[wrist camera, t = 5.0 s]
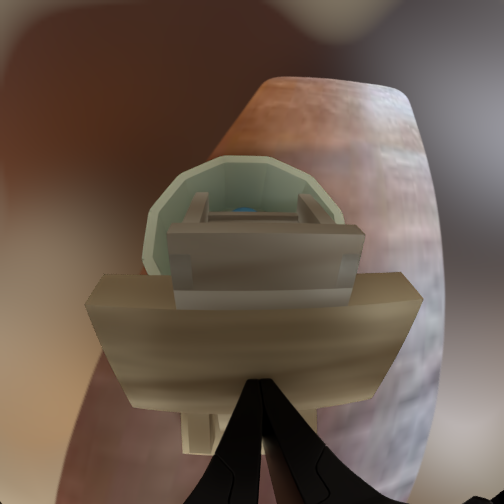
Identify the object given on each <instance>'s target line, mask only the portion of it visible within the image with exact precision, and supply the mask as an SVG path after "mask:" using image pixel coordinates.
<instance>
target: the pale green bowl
mask: <svg viewBox="0 0 504 504" xmlns="http://www.w3.org/2000/svg"><path fill="white" fill-rule="evenodd" d="M196 192H209V212H231V211H233V210H235V209H237V208H241V207H247V208H251V209H254V210H256V211H257V212H293V213H296V212H297V201H298V194H311V196H312V197H313V198H314V199H315V200H316V201H317V202H318V203H319V204H320V206H321V207H322V208H323V209H324V210H325V211H326V212H327V213H328V215H329V216H330V217H331V218H332V219H333V220H334V222H335V223H336V224H345V222H344V218H343V213H341V212H342V211H341V210H340V209H339V207H338V206H337V205H336V204H335V202H334V201H333V200H332V199H331V198H330V196H329V195H328V194H327V193H326V192H325V190H324V189H323V188H322V187H321V186H320V185H319V183H318V182H317V181H316V180H315V179H314V178H313V177H311V175H309V174H307V173H305V172H303V171H300V170H298V169H296V168H294V167H292V166H290V165H288V164H285V163H283V162H281V161H279V160H276V159H274V158H272V157H270V158H269V156H223V157H222V156H220V157H218V158H215V159H213V160H211V161H208V162H206V163H204V164H201V165H199V166H197V167H194V168H192V169H190V170H187V171H185V172H183V173H181V174H180V175H178V176H177V177H176V179H175V180H174V181H173V182H172V183H171V184H170V186H169V187H168V188H167V189H166V190H165V192H164V193H163V194H162V195H161V196H160V198H159V199H158V200H157V201H156V202H155V204H154V205H153V206H152V208H151V209H150V212H149V214H148V219H147V226H146V232H145V239H144V245H143V253H142V262H143V264H144V266H145V269H146V271H147V273H148V275H171V269H170V261H169V253H168V245H167V235H166V233H167V231H168V229H169V227H170V225H171V223H182V221H183V219H184V217H185V215H186V212H187V210H188V208H189V206H190V204H191V202H192V199H193V197H194V195H195V193H196Z"/></svg>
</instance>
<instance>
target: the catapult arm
mask: <svg viewBox="0 0 504 504" xmlns="http://www.w3.org/2000/svg"><path fill="white" fill-rule="evenodd" d="M166 235H167V245H168V253H169V261H170V269H171V275H122V274H121V275H119V274H104V275H103V277H102V278H101V279H100V281H99V282H98V284H97V285H96V287H95V289H94V290H93V292H92V293H91V295H90V296H89V298H88V300H87V301H86V303H85V307H86V309H87V312H88V315H89V317H90V320H91V322H92V325H93V327H94V329H95V332H96V335H97V337H98V339H99V342H100V344H101V346H102V348H103V351H104V353H105V355H106V357H107V359H108V361H109V363H110V365H111V367H112V369H113V371H114V373H115V375H116V377H117V379H118V381H119V383H120V385H121V387H122V389H123V391H124V392H125V394H126V396H127V398H128V400H129V401H130V403H131V405H132V406H133V407H134V408H141V409H149V410H158V411H168V412H180V413H198V414H218V421H219V428H220V434H221V438H222V435H223V433H224V431H225V429H226V426H227V424H228V422H229V420H230V417H231V415H232V413H233V410H234V408H235V406H236V403H237V401H238V399H239V396H240V394H241V392H242V389H243V387H244V385H245V382H246V380H247V379H259V380H260V379H263V378H271V379H273V381H274V382H275V383H276V385H277V386H278V387H279V388H280V390H281V391H282V392H283V393H284V395H285V396H286V397H287V399H288V400H289V401H290V402H291V404H292V405H293V406H294V407H295V408H296V410H297V411H298V410H307V409H315V408H322V407H329V406H335V405H341V404H347V403H352V402H358V401H363V400H367V399H371V398H372V397H373V395H374V394H375V392H376V390H377V389H378V387H379V386H380V384H381V382H382V381H383V379H384V377H385V376H386V374H387V372H388V370H389V369H390V367H391V365H392V363H393V362H394V360H395V358H396V356H397V354H398V352H399V350H400V349H401V347H402V345H403V343H404V341H405V339H406V337H407V335H408V333H409V331H410V328H411V326H412V324H413V322H414V320H415V318H416V316H417V313H418V311H419V309H420V306H421V304H422V302H423V298H422V296H421V295H420V294H419V293H418V291H417V290H416V289H415V288H414V287H413V286H412V284H411V283H410V282H409V281H408V280H407V278H406V277H405V276H404V275H403V274H402V273H401V272H392V273H365V274H357V270H358V265H359V261H360V257H361V253H362V248H363V244H364V239H365V234H364V233H363V232H362V231H361V230H360V229H359V228H358V227H357V226H356V225H345V224H336V223H335V222H334V220H333V219H332V218H331V217H330V216H329V215H328V213H327V212H326V211H325V210H324V209H323V208H322V207H321V206H320V204H319V203H318V202H317V201H316V200H315V199H314V198H313V197H312V196H311V194H298V201H297V212H296V213H293V212H209V192H196V193H195V195H194V197H193V199H192V202H191V204H190V206H189V208H188V210H187V212H186V215H185V217H184V219H183V221H182V223H171V225H170V227H169V229H168V231H167V233H166Z"/></svg>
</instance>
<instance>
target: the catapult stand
mask: <svg viewBox="0 0 504 504" xmlns="http://www.w3.org/2000/svg"><path fill="white" fill-rule="evenodd" d="M298 412H299V413H300V415H301V416H302V417H303V418H304V419H305V421H306V422H307V423H308V424H309V426H310V427H311V428H312V429H313V430H314V431H315V433H316V434H317V411H316V408H315V409H307V410H298ZM181 433H182V449H183V454H196V455H214V454H215V451H216V448H217V446H218V444H219V442H220V440H221V434H220V428H219V421H218V414H198V413H181ZM262 454H265V451H264V447H263V443H262V448H261V455H262Z"/></svg>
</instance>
